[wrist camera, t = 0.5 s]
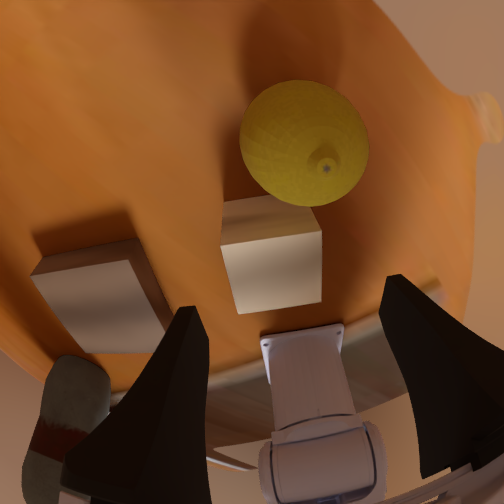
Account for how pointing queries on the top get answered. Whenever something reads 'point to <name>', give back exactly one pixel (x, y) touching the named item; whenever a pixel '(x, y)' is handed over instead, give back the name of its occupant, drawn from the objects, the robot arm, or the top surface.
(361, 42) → the top surface
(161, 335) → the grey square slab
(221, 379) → the top surface
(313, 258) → the maple cube
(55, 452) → the bottle
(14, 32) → the top surface
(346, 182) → the lemon
